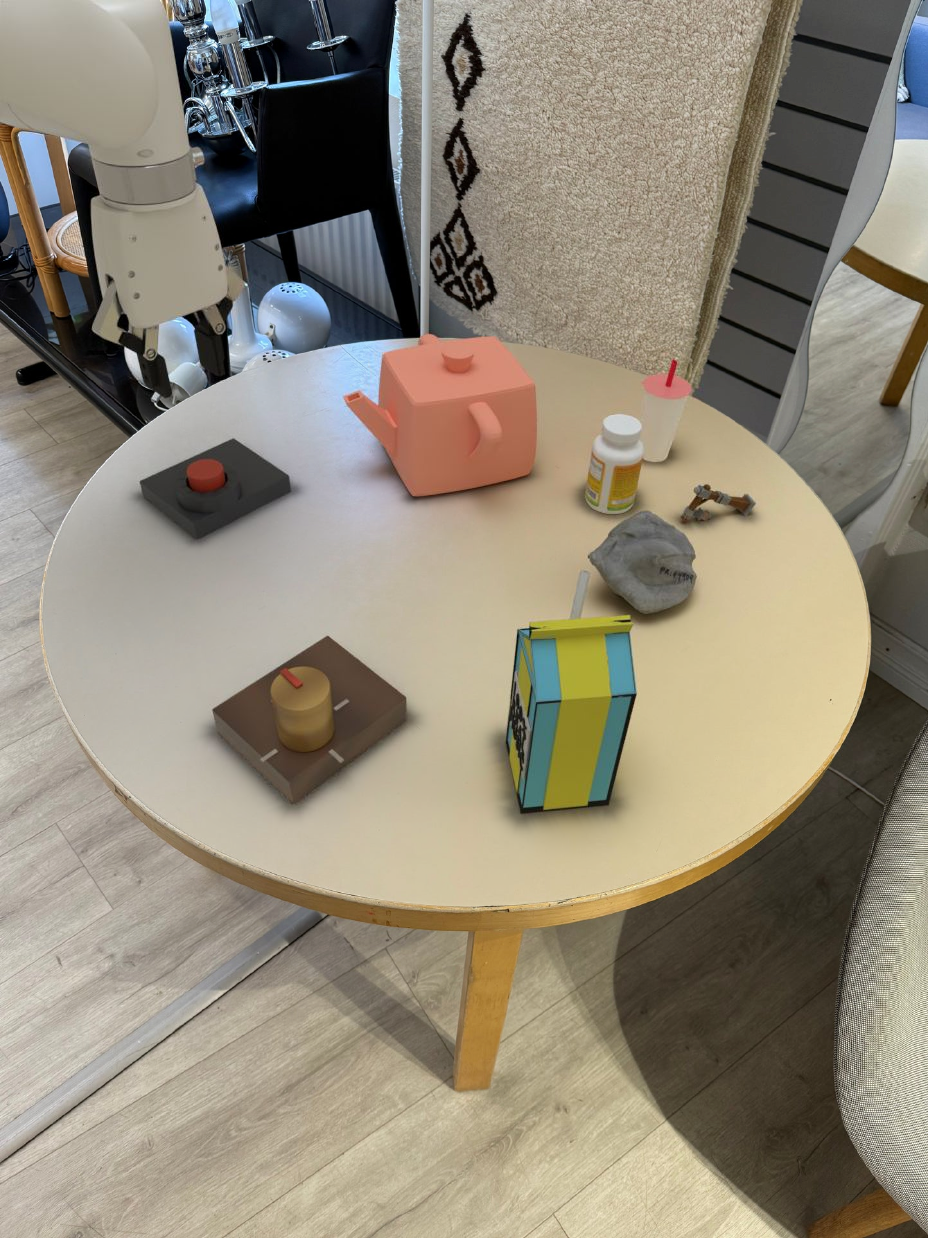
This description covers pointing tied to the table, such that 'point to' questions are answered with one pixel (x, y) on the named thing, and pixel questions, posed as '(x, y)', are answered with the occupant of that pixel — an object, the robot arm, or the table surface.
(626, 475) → the supplement bottle
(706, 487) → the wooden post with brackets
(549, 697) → the carton
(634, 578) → the fossil
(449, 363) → the teapot
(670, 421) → the cup
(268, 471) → the button block
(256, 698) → the panel
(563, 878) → the table surface
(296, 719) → the knob
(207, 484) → the button
